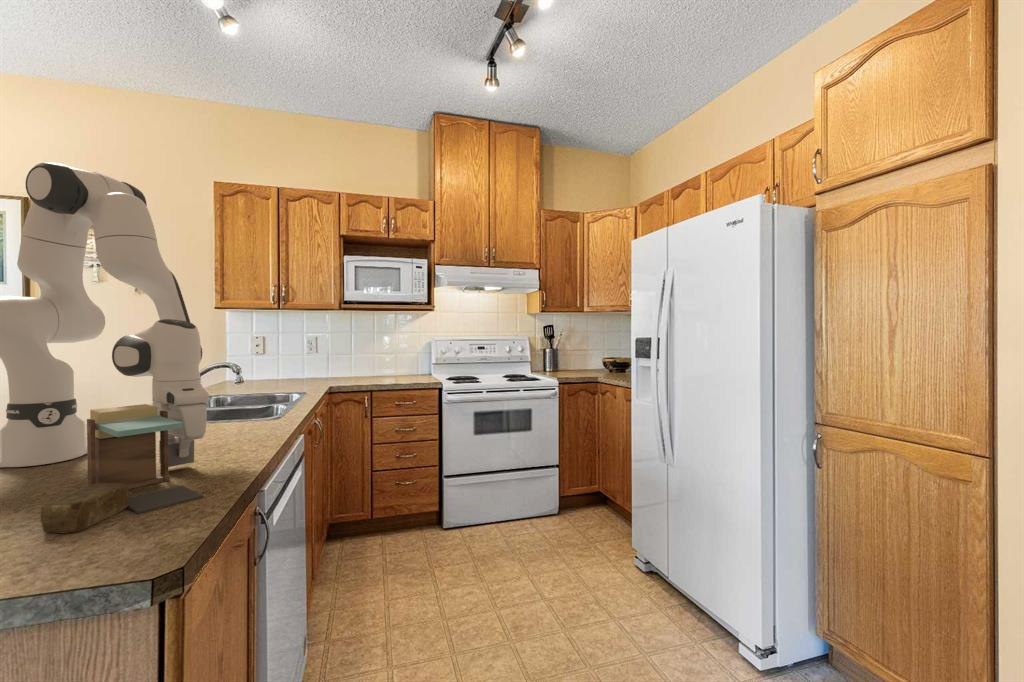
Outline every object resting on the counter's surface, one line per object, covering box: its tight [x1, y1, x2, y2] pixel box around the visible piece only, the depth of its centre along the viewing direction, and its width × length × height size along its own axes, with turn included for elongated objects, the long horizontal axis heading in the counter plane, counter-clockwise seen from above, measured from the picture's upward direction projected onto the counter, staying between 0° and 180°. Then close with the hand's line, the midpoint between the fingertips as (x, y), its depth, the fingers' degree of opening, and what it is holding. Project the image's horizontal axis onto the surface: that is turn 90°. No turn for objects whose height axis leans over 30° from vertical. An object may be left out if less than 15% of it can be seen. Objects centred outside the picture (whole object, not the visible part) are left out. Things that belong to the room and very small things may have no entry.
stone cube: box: [158, 437, 195, 468], centre depth 106 cm, size 5×5×5 cm
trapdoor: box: [89, 403, 183, 439], centre depth 92 cm, size 18×10×5 cm, turn 55°
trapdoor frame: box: [77, 411, 171, 490], centre depth 95 cm, size 8×13×14 cm, turn 145°
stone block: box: [40, 483, 129, 534], centre depth 78 cm, size 6×12×5 cm, turn 5°
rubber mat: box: [126, 484, 204, 515], centre depth 87 cm, size 10×10×1 cm
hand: (176, 454), depth 106 cm, fingers closed on stone cube, 5 cm apart
